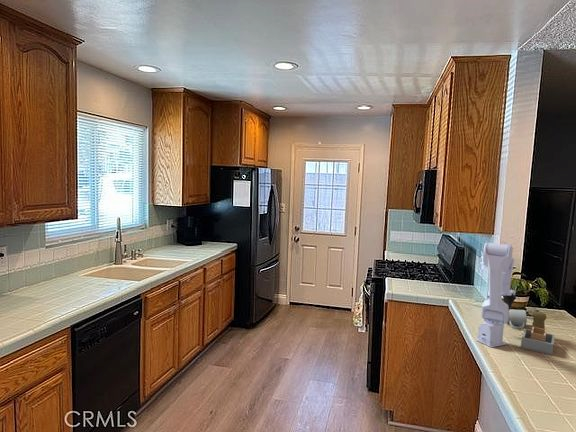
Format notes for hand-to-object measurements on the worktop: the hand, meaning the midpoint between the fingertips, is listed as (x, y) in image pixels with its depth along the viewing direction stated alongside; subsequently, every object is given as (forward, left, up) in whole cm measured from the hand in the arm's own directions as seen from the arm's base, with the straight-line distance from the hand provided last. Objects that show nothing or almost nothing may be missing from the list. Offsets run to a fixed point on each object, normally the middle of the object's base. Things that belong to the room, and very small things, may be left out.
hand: (500, 311), depth 187 cm
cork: (+12, -10, -10) cm, 18 cm away
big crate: (+1, -18, -9) cm, 20 cm away
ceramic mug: (+15, +2, -10) cm, 18 cm away
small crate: (0, -18, -9) cm, 20 cm away
